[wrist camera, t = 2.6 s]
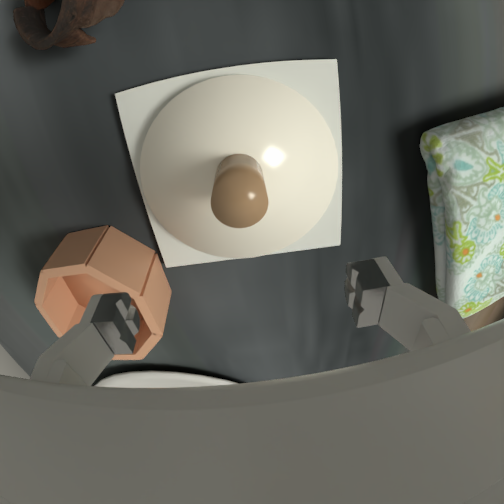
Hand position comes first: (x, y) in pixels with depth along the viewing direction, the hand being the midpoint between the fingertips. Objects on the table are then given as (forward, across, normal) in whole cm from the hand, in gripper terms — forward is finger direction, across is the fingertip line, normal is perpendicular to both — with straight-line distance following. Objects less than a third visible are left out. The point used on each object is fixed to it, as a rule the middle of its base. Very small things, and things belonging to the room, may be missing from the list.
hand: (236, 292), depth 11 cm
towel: (+12, -25, +4) cm, 28 cm away
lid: (+11, 0, -1) cm, 11 cm away
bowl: (+12, +13, +7) cm, 19 cm away
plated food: (+13, +14, +35) cm, 40 cm away
